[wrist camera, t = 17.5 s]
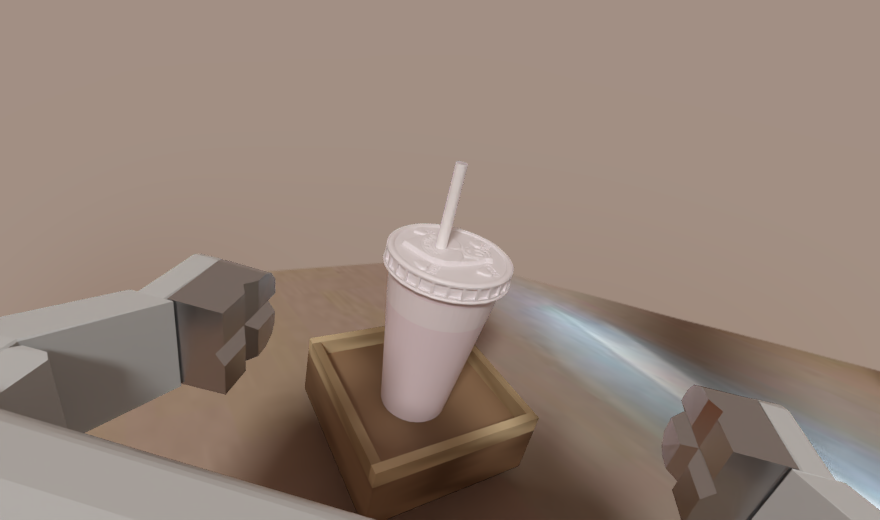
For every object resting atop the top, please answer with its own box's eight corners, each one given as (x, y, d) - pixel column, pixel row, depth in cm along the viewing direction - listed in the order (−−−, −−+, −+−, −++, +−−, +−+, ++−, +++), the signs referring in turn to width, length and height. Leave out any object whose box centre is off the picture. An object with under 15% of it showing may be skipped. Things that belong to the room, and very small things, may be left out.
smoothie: (362, 353, 30) (403, 133, 23) (461, 367, 31) (526, 159, 24) (351, 435, 24) (401, 174, 18) (472, 448, 25) (562, 206, 19)
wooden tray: (437, 358, 35) (448, 315, 34) (518, 465, 28) (538, 417, 26) (304, 388, 30) (309, 338, 28) (363, 528, 23) (375, 473, 21)
